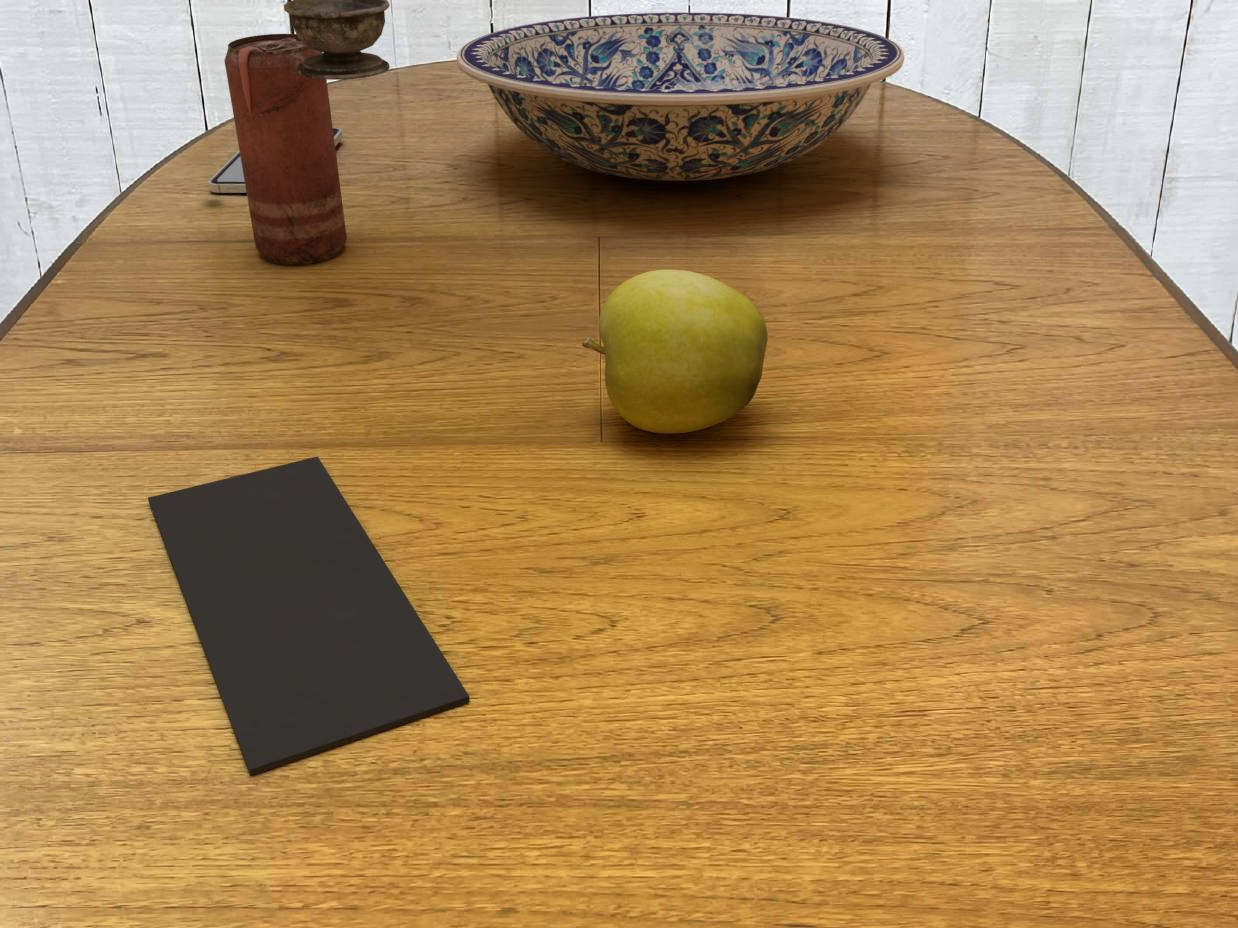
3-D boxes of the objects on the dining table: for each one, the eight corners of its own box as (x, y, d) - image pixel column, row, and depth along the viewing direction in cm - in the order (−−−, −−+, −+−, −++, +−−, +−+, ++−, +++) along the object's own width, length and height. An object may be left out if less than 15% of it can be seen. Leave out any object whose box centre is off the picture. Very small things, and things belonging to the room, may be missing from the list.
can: (239, 264, 84) (201, 49, 77) (282, 232, 90) (251, 29, 83) (322, 271, 83) (291, 53, 76) (361, 238, 88) (336, 32, 81)
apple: (585, 390, 67) (581, 249, 63) (755, 389, 67) (762, 247, 63) (581, 463, 61) (576, 310, 57) (769, 462, 61) (778, 308, 57)
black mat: (250, 776, 43) (248, 769, 42) (148, 502, 58) (147, 497, 58) (470, 702, 46) (469, 695, 46) (318, 461, 61) (317, 455, 61)
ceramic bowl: (858, 111, 116) (868, -3, 111) (930, 240, 87) (948, 93, 82) (489, 113, 117) (482, 0, 112) (436, 242, 88) (423, 97, 82)
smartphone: (203, 184, 97) (261, 127, 110) (206, 196, 97) (263, 138, 110) (297, 184, 96) (344, 127, 109) (299, 196, 97) (346, 138, 110)
